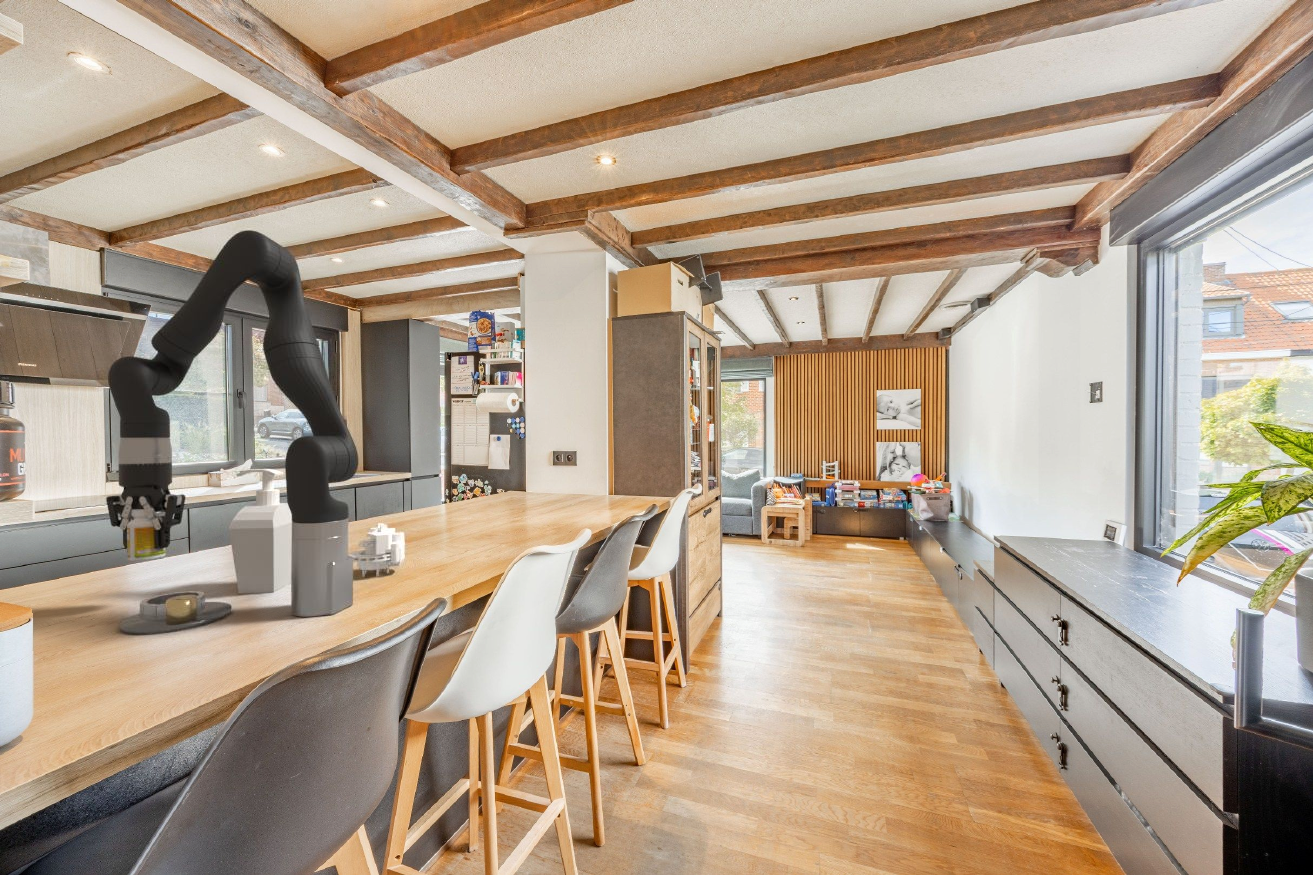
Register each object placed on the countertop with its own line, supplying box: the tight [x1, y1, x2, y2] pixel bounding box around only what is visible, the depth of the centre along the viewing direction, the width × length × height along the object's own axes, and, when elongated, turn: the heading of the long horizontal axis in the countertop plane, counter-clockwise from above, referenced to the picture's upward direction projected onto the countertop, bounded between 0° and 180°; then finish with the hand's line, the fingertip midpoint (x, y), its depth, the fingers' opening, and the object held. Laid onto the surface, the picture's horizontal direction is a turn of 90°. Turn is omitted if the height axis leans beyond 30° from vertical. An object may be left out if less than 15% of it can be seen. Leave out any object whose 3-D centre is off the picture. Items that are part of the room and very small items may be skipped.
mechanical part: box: [348, 522, 406, 578], centre depth 128 cm, size 11×12×12 cm
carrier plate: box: [119, 590, 233, 636], centre depth 96 cm, size 15×15×5 cm
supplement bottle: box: [126, 509, 167, 562], centre depth 103 cm, size 5×5×10 cm
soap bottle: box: [228, 468, 292, 594], centre depth 116 cm, size 12×10×26 cm
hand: (146, 547), depth 103 cm, fingers closed on supplement bottle, 5 cm apart
